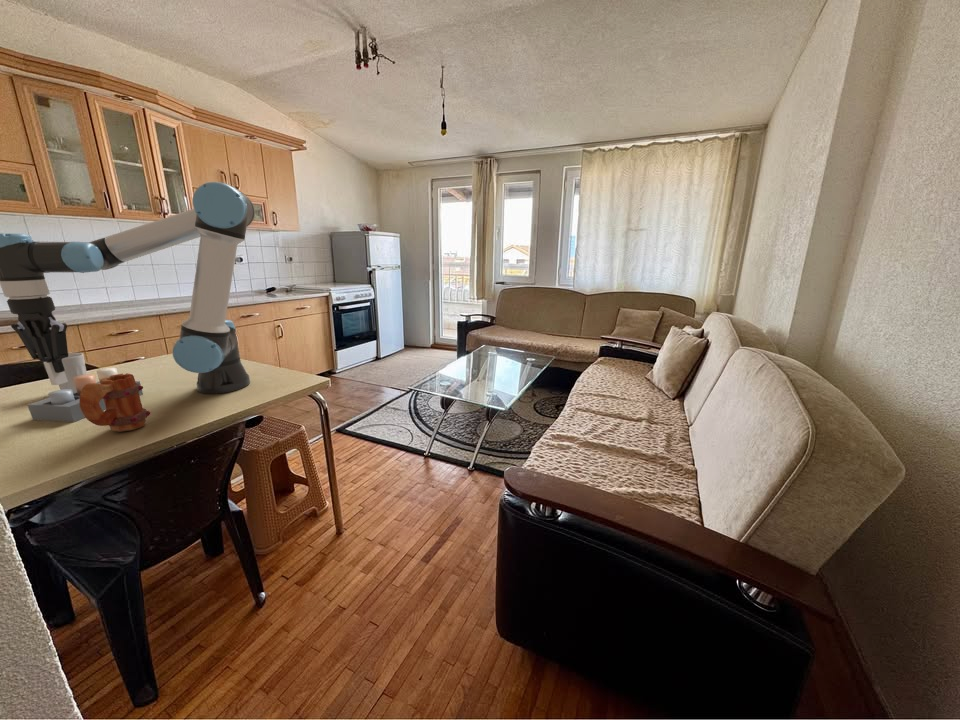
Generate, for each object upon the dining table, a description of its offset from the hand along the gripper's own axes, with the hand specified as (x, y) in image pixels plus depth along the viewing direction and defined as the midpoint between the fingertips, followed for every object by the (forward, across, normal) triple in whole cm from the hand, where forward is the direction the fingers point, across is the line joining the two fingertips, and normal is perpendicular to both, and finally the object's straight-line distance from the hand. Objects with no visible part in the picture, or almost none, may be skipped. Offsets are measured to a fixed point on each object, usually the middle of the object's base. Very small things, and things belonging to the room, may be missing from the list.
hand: (59, 383), depth 101 cm
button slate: (+7, +1, 0) cm, 7 cm away
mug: (+10, -23, +8) cm, 27 cm away
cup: (+10, +18, -16) cm, 26 cm away
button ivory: (+5, +1, -13) cm, 14 cm away
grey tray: (+10, +1, -6) cm, 11 cm away
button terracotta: (+5, +1, -6) cm, 8 cm away
